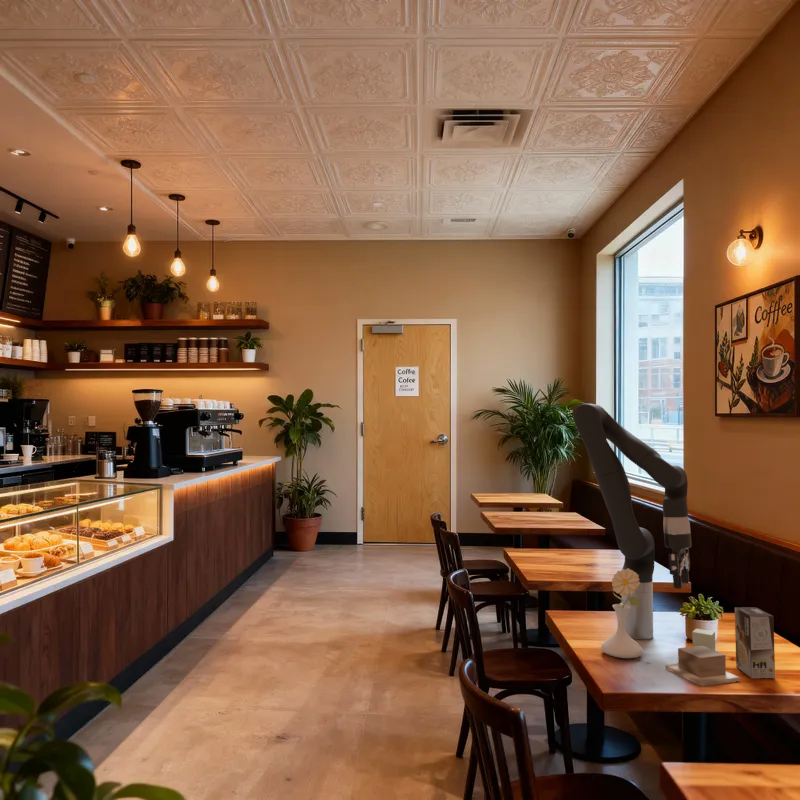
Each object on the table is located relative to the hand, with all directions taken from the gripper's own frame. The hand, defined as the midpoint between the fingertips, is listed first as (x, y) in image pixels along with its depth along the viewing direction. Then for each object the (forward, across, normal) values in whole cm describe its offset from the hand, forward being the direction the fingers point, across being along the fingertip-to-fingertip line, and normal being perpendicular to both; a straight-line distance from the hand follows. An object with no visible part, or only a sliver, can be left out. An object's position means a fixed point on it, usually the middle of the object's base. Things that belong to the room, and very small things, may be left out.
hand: (681, 585), depth 200 cm
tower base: (+18, +24, +9) cm, 31 cm away
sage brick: (+18, +12, +8) cm, 23 cm away
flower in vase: (+17, +22, -12) cm, 30 cm away
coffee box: (+19, +14, +20) cm, 31 cm away
